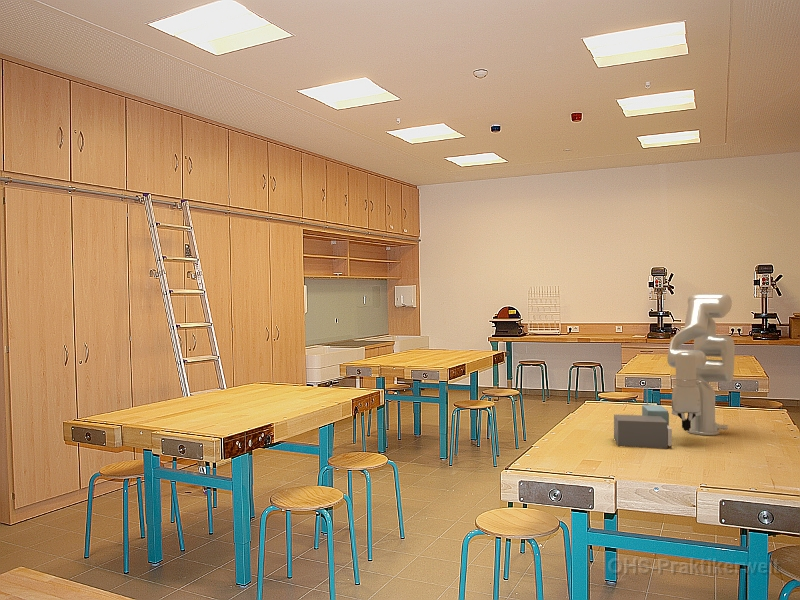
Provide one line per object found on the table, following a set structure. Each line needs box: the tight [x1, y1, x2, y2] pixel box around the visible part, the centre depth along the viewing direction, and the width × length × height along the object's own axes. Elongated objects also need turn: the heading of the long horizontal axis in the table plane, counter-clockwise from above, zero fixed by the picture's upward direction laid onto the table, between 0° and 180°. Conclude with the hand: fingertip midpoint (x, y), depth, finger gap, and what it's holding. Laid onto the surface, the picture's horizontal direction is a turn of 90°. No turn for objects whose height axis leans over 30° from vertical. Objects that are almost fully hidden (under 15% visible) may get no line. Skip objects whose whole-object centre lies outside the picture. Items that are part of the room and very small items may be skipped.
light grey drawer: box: [667, 425, 673, 447], centre depth 266 cm, size 17×16×6 cm
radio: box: [641, 386, 670, 427], centre depth 282 cm, size 16×9×20 cm, turn 168°
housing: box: [613, 414, 668, 449], centre depth 267 cm, size 18×15×10 cm
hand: (686, 430), depth 265 cm, fingers closed
